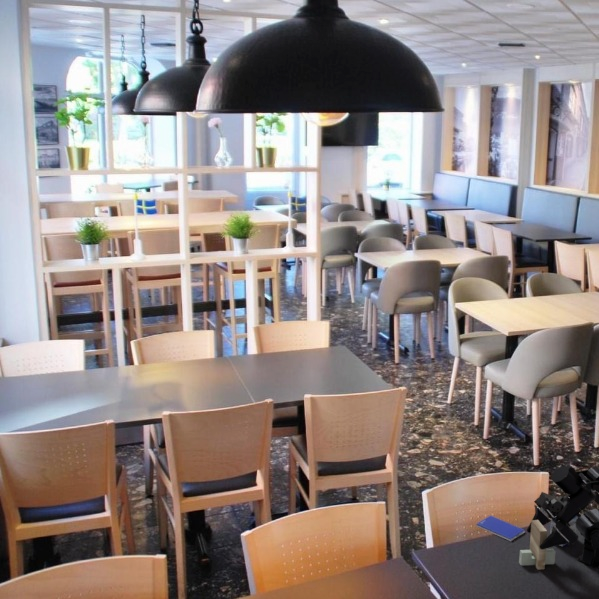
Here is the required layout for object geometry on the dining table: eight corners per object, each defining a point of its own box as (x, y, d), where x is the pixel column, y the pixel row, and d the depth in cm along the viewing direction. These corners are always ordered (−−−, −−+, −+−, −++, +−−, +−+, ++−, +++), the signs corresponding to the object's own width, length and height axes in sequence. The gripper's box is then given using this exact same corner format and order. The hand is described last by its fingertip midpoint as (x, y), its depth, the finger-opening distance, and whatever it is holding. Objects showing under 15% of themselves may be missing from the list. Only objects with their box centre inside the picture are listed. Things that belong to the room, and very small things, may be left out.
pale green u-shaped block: (551, 561, 231) (553, 548, 230) (554, 564, 229) (555, 551, 228) (518, 562, 230) (519, 550, 229) (521, 565, 228) (522, 553, 227)
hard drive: (476, 523, 250) (510, 538, 241) (491, 515, 256) (525, 529, 247) (476, 527, 250) (510, 543, 242) (490, 519, 256) (524, 533, 247)
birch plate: (535, 557, 233) (538, 519, 230) (544, 569, 226) (547, 530, 224) (529, 557, 232) (531, 520, 230) (537, 569, 226) (540, 531, 224)
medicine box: (562, 547, 238) (564, 521, 237) (548, 541, 242) (551, 515, 240) (575, 538, 244) (578, 512, 242) (562, 533, 247) (564, 507, 245)
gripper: (543, 471, 234) (504, 507, 235) (571, 500, 216) (529, 539, 217) (566, 494, 236) (528, 530, 237) (596, 525, 218) (554, 563, 219)
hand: (534, 539), depth 228 cm, fingers open, 9 cm apart
